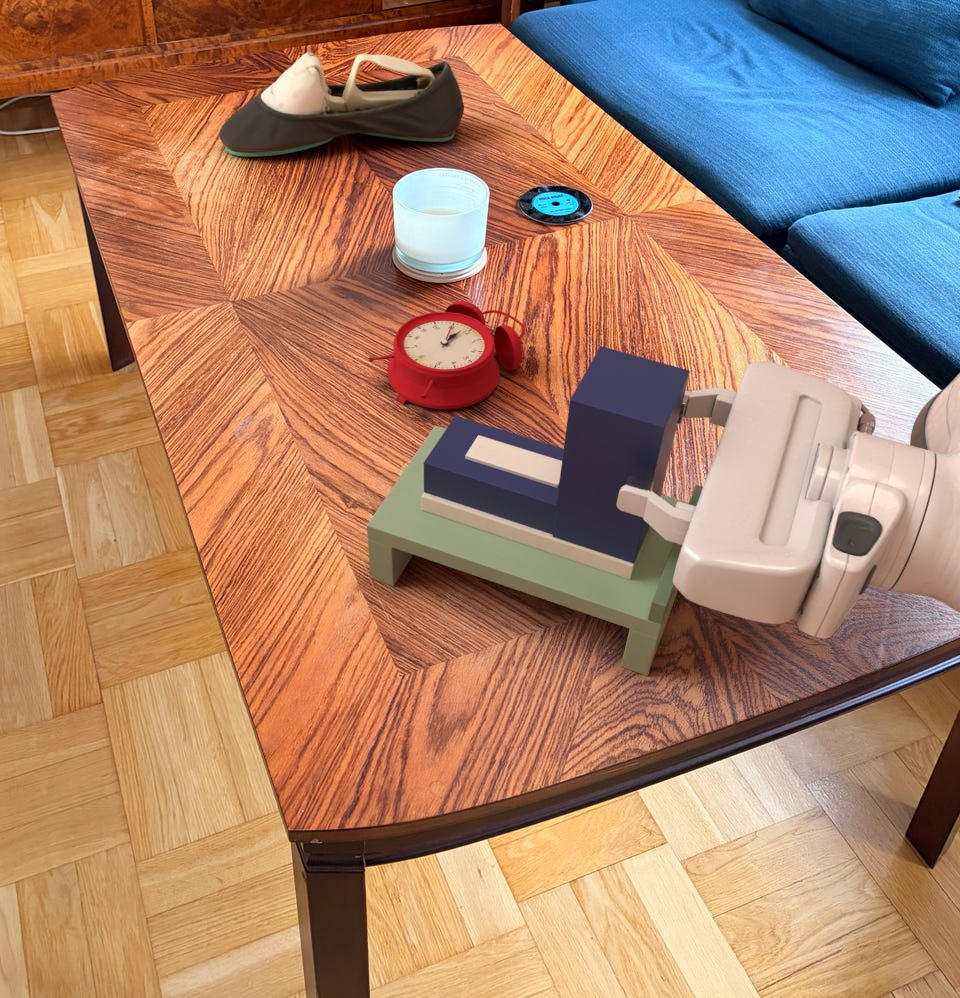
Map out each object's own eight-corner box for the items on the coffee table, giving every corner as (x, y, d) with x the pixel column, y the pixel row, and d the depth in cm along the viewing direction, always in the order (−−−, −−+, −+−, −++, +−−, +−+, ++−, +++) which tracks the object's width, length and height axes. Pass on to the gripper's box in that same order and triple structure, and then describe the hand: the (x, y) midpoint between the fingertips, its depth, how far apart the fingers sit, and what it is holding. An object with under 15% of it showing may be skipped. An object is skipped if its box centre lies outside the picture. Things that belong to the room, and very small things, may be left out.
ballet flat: (217, 130, 127) (203, 46, 119) (449, 109, 133) (450, 28, 126) (225, 169, 120) (211, 82, 112) (470, 145, 126) (472, 61, 119)
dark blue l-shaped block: (655, 519, 74) (691, 368, 64) (630, 580, 69) (664, 429, 59) (456, 455, 78) (460, 304, 68) (421, 510, 73) (419, 357, 63)
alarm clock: (353, 347, 90) (468, 255, 95) (368, 393, 95) (476, 303, 101) (433, 402, 85) (549, 302, 91) (444, 447, 91) (554, 350, 96)
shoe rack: (689, 559, 79) (709, 488, 73) (647, 676, 71) (666, 606, 65) (434, 478, 84) (435, 405, 79) (369, 578, 76) (365, 506, 71)
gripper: (894, 369, 66) (689, 317, 69) (853, 591, 52) (601, 513, 56) (864, 441, 70) (673, 388, 74) (820, 662, 57) (588, 586, 60)
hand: (641, 444), depth 64 cm, fingers open, 8 cm apart
